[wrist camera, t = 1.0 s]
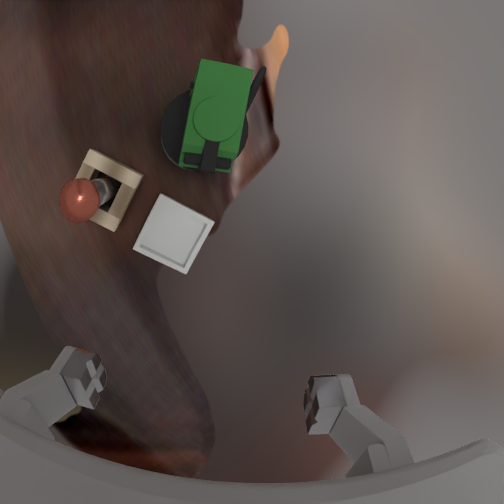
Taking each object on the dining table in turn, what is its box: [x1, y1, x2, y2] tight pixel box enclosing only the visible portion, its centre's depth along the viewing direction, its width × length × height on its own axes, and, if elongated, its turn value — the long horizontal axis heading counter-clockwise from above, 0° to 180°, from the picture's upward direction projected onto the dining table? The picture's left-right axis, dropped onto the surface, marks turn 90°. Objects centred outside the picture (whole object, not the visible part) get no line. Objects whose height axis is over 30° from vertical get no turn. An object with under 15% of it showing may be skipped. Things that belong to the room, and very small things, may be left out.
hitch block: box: [75, 149, 144, 232], centre depth 39 cm, size 9×9×5 cm
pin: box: [59, 177, 118, 223], centre depth 33 cm, size 5×5×17 cm
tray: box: [133, 193, 215, 274], centre depth 45 cm, size 10×10×2 cm
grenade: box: [161, 59, 266, 173], centre depth 34 cm, size 11×13×20 cm
